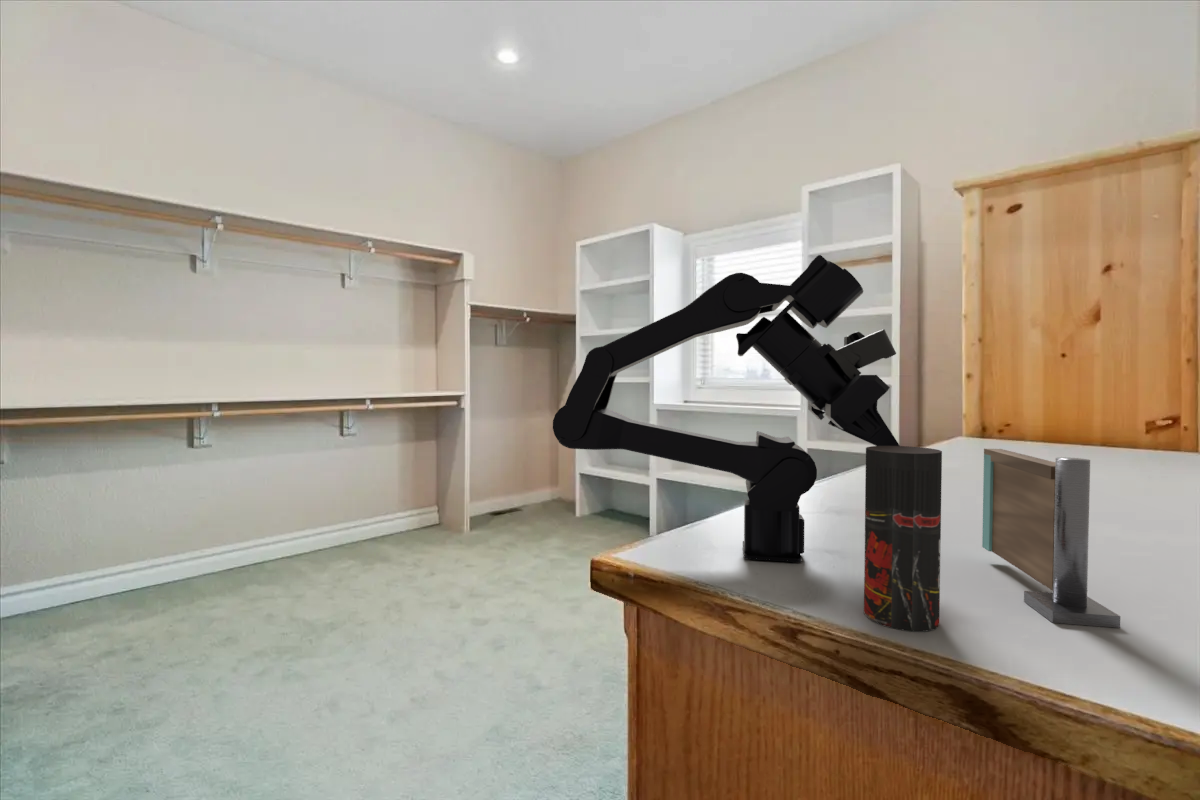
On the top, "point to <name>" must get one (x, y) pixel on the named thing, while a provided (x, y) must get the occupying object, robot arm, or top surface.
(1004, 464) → the gate
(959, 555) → the top surface
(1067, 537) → the hinge post
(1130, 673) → the top surface
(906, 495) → the deodorant
